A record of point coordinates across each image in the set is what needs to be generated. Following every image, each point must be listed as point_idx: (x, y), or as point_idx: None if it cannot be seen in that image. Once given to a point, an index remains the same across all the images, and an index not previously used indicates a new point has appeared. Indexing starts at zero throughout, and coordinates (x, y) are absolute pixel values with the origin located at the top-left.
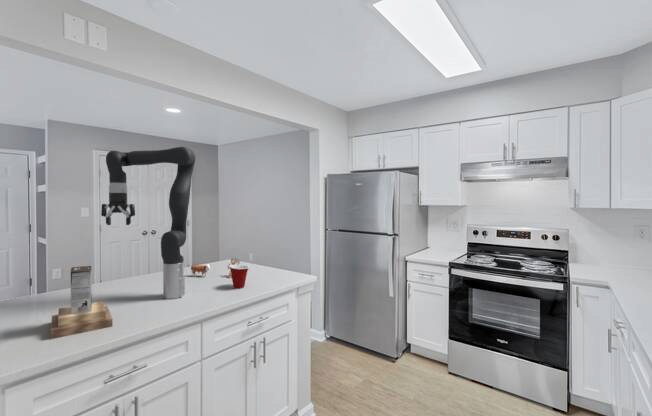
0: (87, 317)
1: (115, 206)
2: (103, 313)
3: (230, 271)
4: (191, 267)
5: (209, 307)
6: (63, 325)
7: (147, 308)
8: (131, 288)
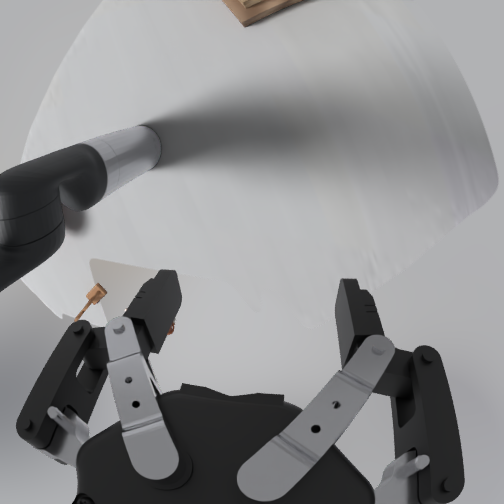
0: None
1: (240, 487)
2: None
3: (93, 298)
4: (170, 327)
5: (58, 84)
6: None
7: (162, 58)
8: (281, 231)
